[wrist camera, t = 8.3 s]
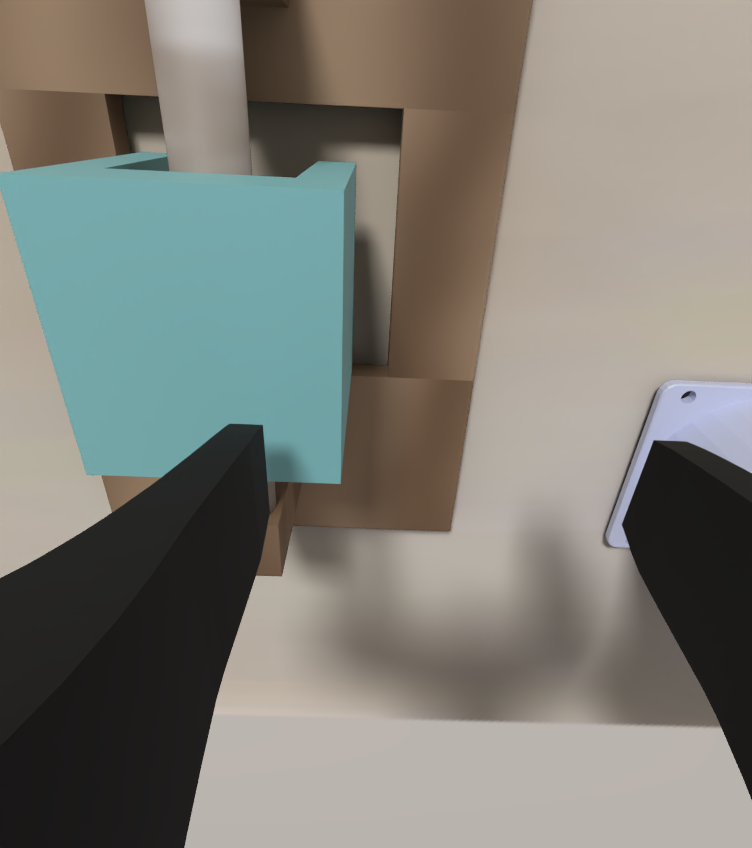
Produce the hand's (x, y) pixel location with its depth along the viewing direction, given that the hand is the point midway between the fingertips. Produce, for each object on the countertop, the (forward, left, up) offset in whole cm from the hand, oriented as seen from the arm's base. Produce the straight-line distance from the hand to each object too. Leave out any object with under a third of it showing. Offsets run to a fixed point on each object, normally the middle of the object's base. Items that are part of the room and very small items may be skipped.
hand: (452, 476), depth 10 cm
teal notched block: (+5, -2, -7) cm, 9 cm away
